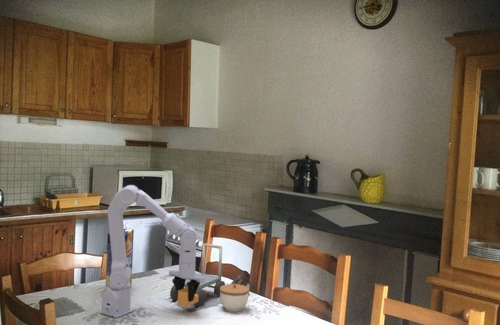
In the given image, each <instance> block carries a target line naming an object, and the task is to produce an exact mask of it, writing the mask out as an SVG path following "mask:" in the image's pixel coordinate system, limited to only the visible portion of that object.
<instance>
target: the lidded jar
mask: <svg viewBox="0 0 500 325" xmlns="http://www.w3.org/2000/svg"><path fill="white" fill-rule="evenodd" d="M249 294H250V287H249V288H248V287H246V286H244V285H239V284H235V283H234V284H231V283H227V284H225V285H223V286H221V287H220V297H219V299H220V303H221V305H222V307H223V308H225V309H224V310H226V312H231V313H239V312H241V311H242V310H243V309H244V308H245V307H246V305H247V303H248V301H249Z"/></svg>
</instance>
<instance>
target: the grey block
mask: <svg viewBox="0 0 500 325" xmlns="http://www.w3.org/2000/svg"><path fill="white" fill-rule="evenodd" d="M234 283H235V284H239V285H244V286H246V287H248V288H249V289H250V284H249V283H248V282H246V281H245V280H243V279H242V274H241V273H240V274H238V276H237V277H236V278H234V279H233V281H231V282H230V284H234Z"/></svg>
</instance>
